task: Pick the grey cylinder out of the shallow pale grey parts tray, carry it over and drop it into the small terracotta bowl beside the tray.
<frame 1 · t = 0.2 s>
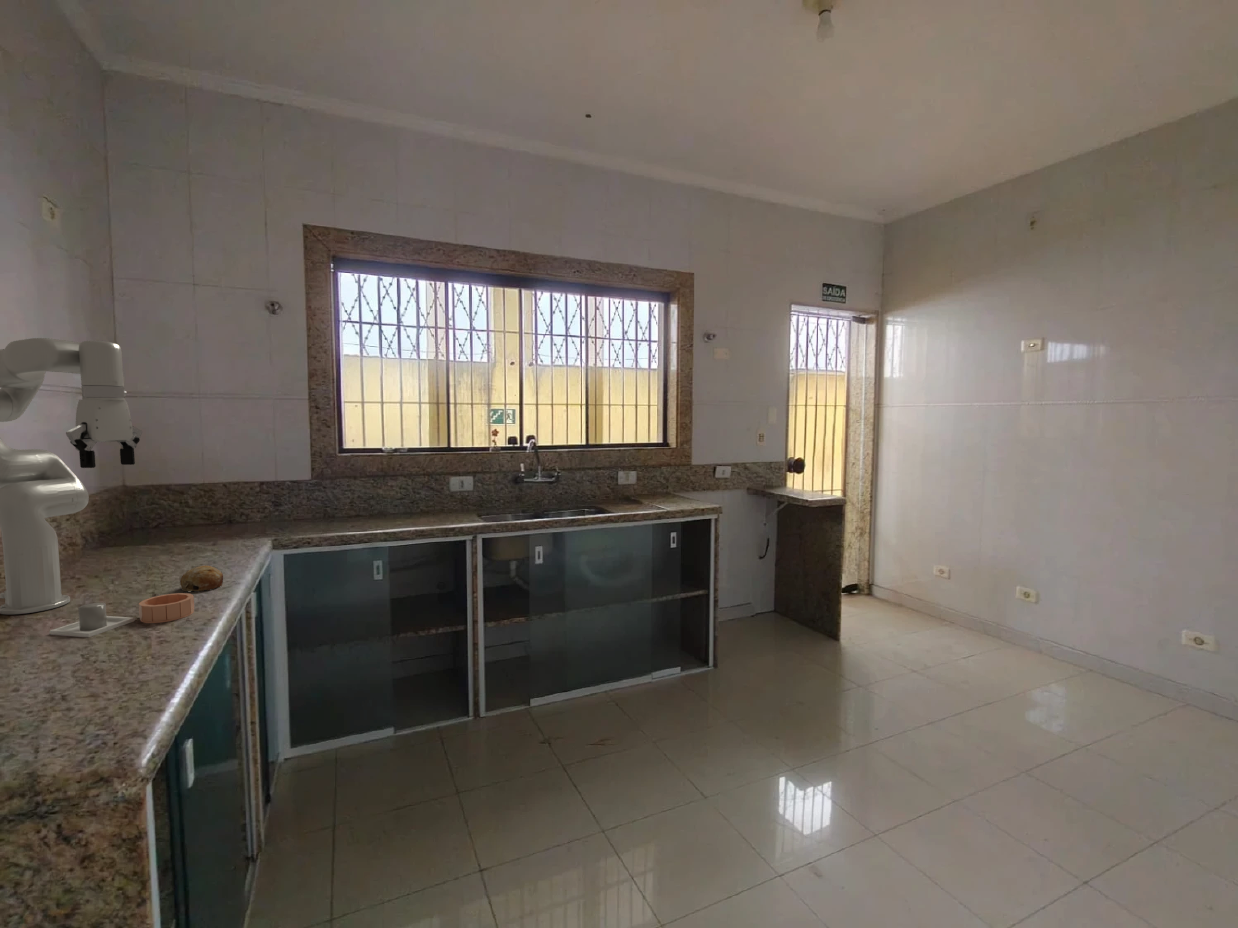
hand: (108, 466, 136), 36 cm above the worktop, tool pointing down, fingers open, 9 cm apart
bread roll: (203, 588, 160), on the worktop
parts tray: (93, 629, 128), on the worktop
bowl: (167, 616, 136), on the worktop
grey cylinder: (93, 627, 128), resting on parts tray
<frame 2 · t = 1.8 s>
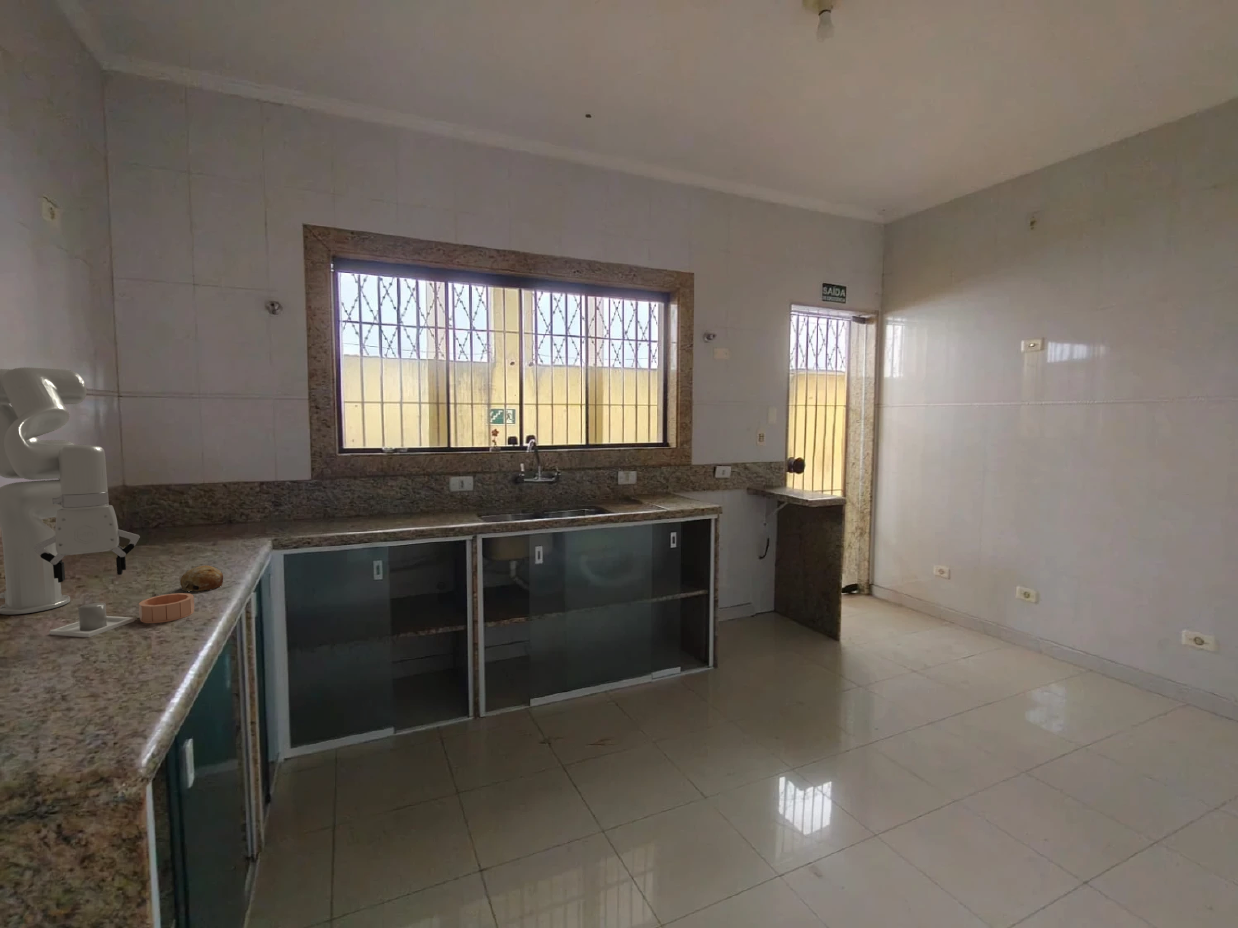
hand: (91, 577, 126), 12 cm above the worktop, tool pointing down, fingers open, 9 cm apart
nothing on the worktop moved.
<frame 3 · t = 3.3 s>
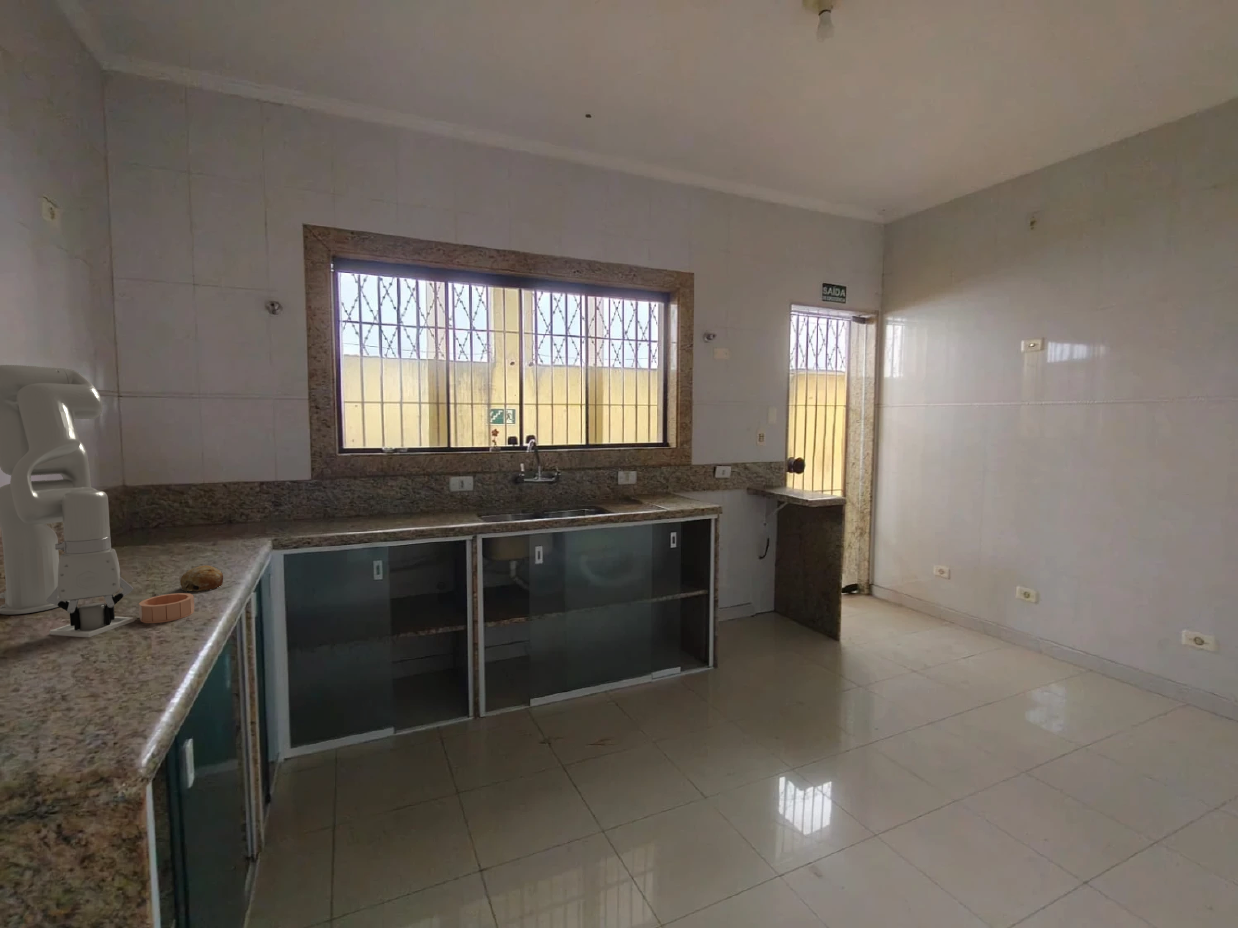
hand: (93, 624, 128), 1 cm above the worktop, tool pointing down, fingers closed on grey cylinder, 4 cm apart
grey cylinder: (93, 627, 128), resting on parts tray, touching gripper
everything else where it was.
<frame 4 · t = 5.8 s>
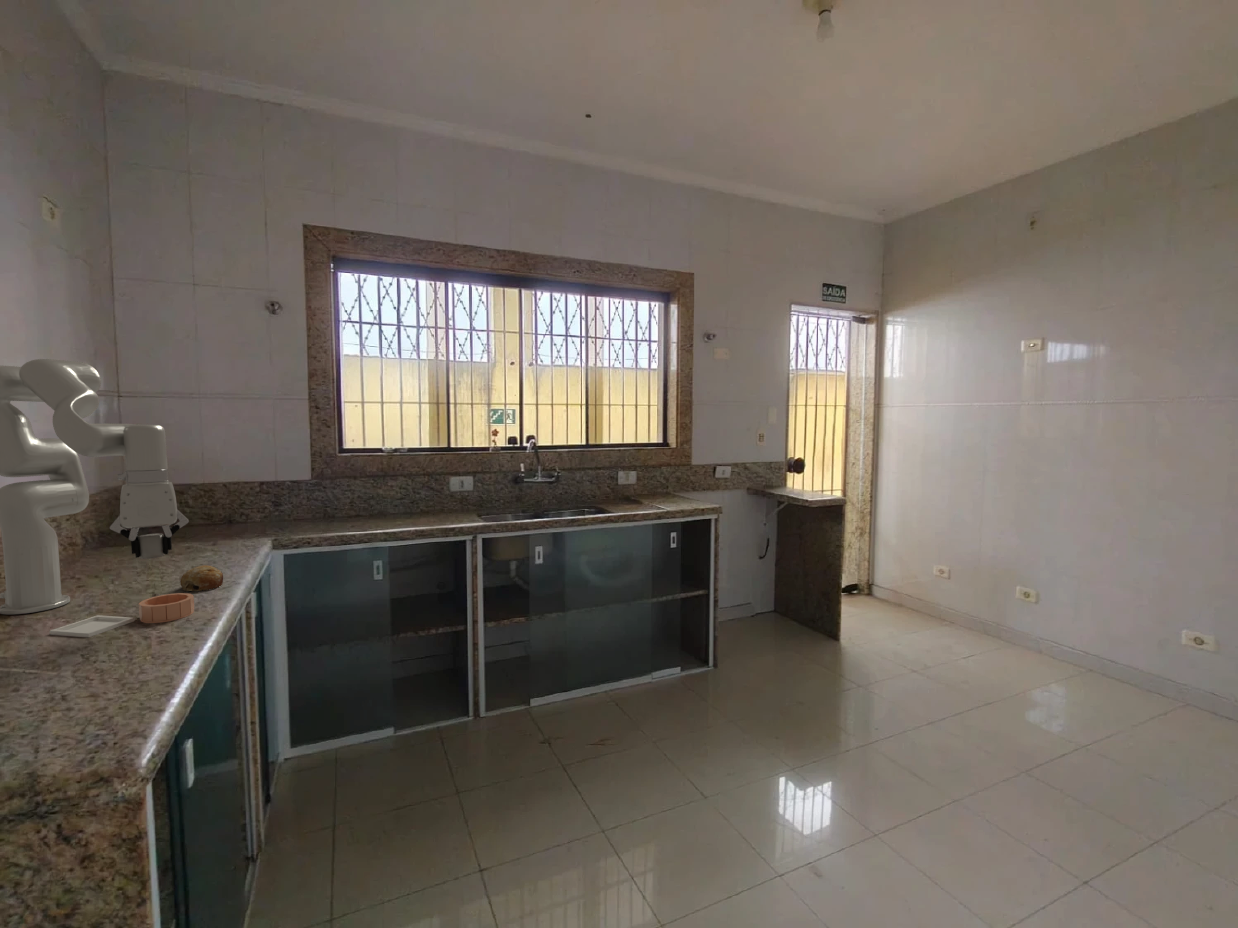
hand: (152, 554, 133), 16 cm above the worktop, tool pointing down, fingers closed on grey cylinder, 4 cm apart
grey cylinder: (152, 556, 133), point 15 cm above the worktop, touching gripper
everything else where it was.
when the fingers open (5 cm above the worktop, at t = 8.6 s): grey cylinder drops 4 cm, resting on bowl.
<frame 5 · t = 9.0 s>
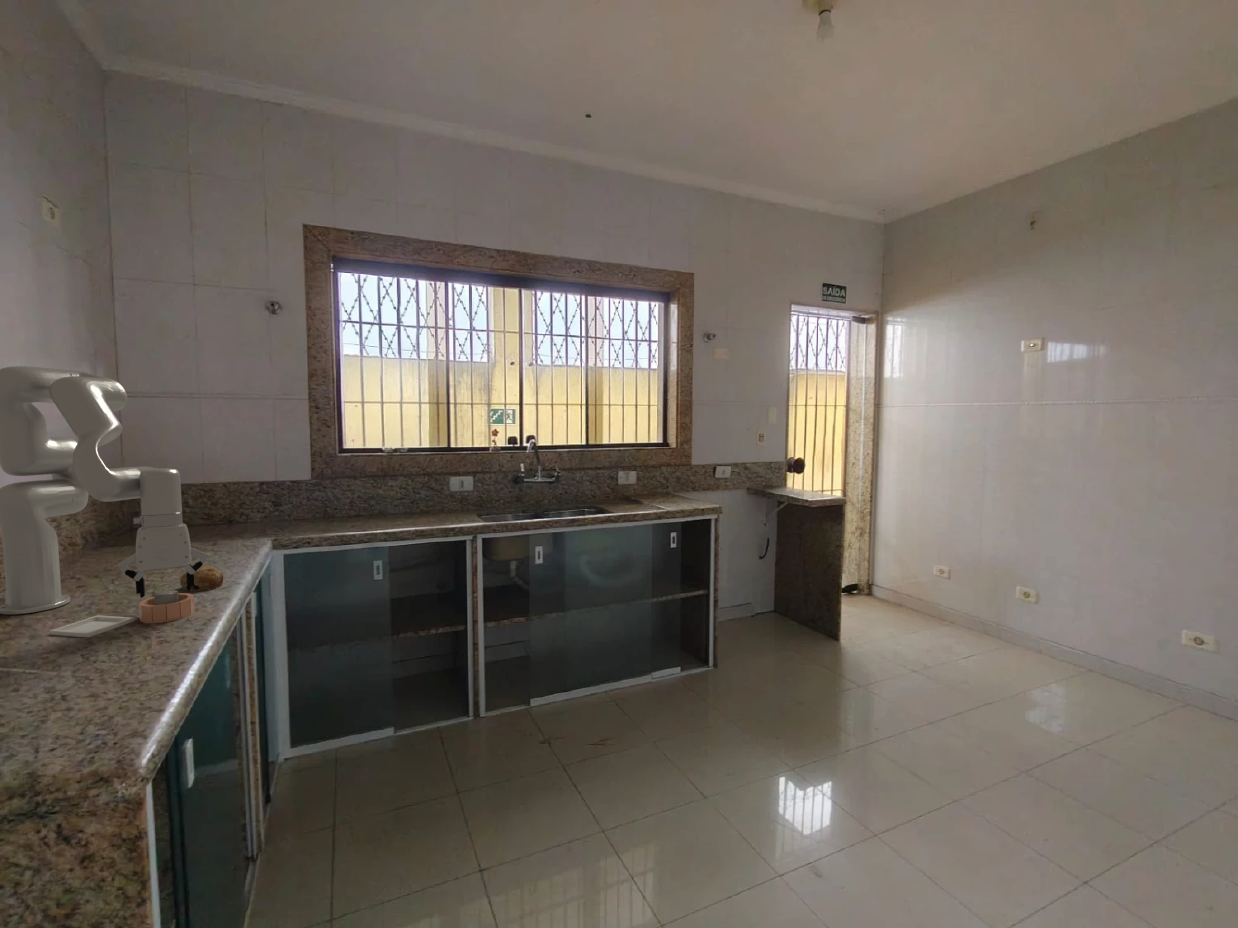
hand: (166, 592, 135), 6 cm above the worktop, tool pointing down, fingers open, 8 cm apart
grey cylinder: (167, 613, 136), point 1 cm above the worktop, touching bowl
everything else where it was.
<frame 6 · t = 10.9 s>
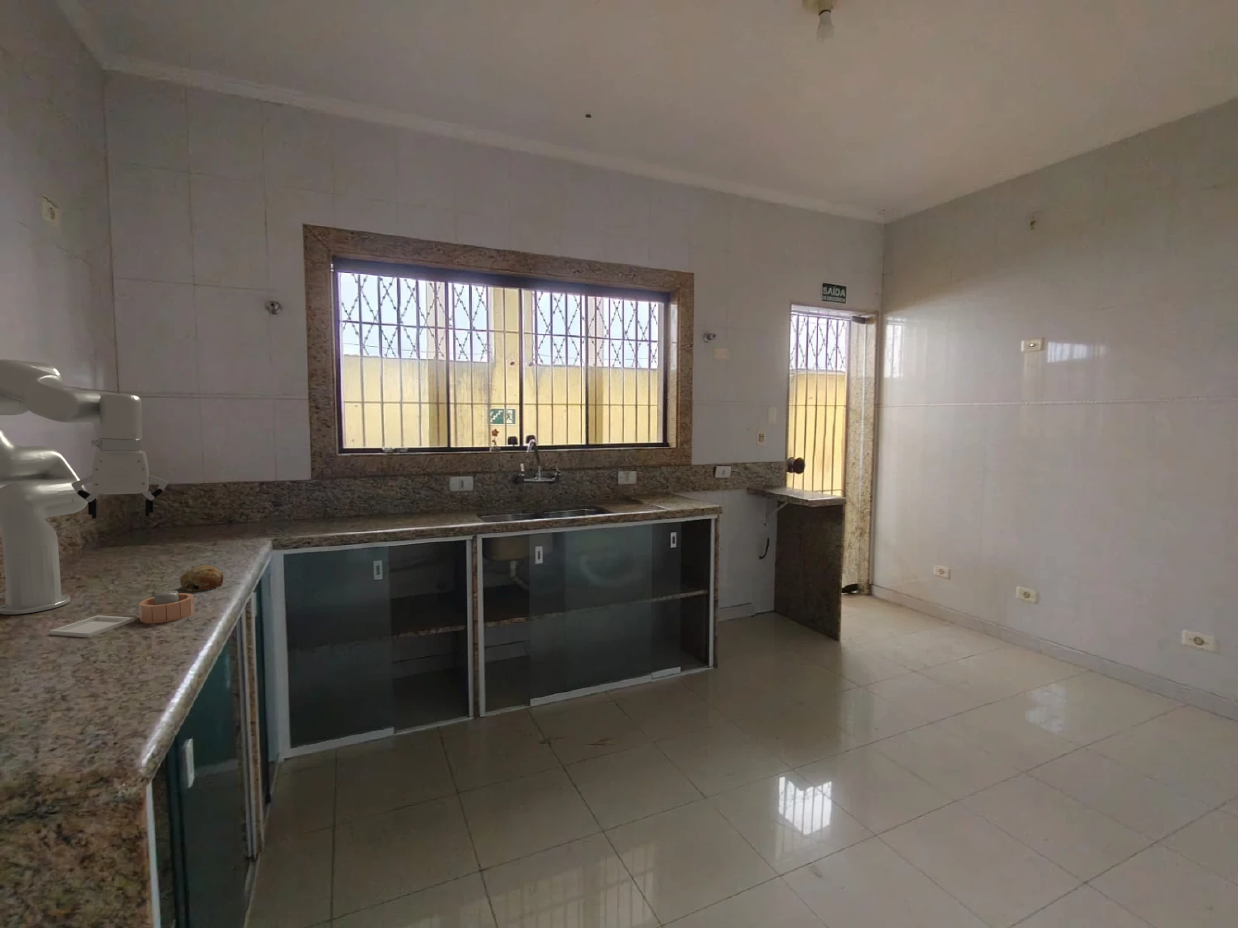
hand: (121, 516, 136), 24 cm above the worktop, tool pointing down, fingers open, 9 cm apart
nothing on the worktop moved.
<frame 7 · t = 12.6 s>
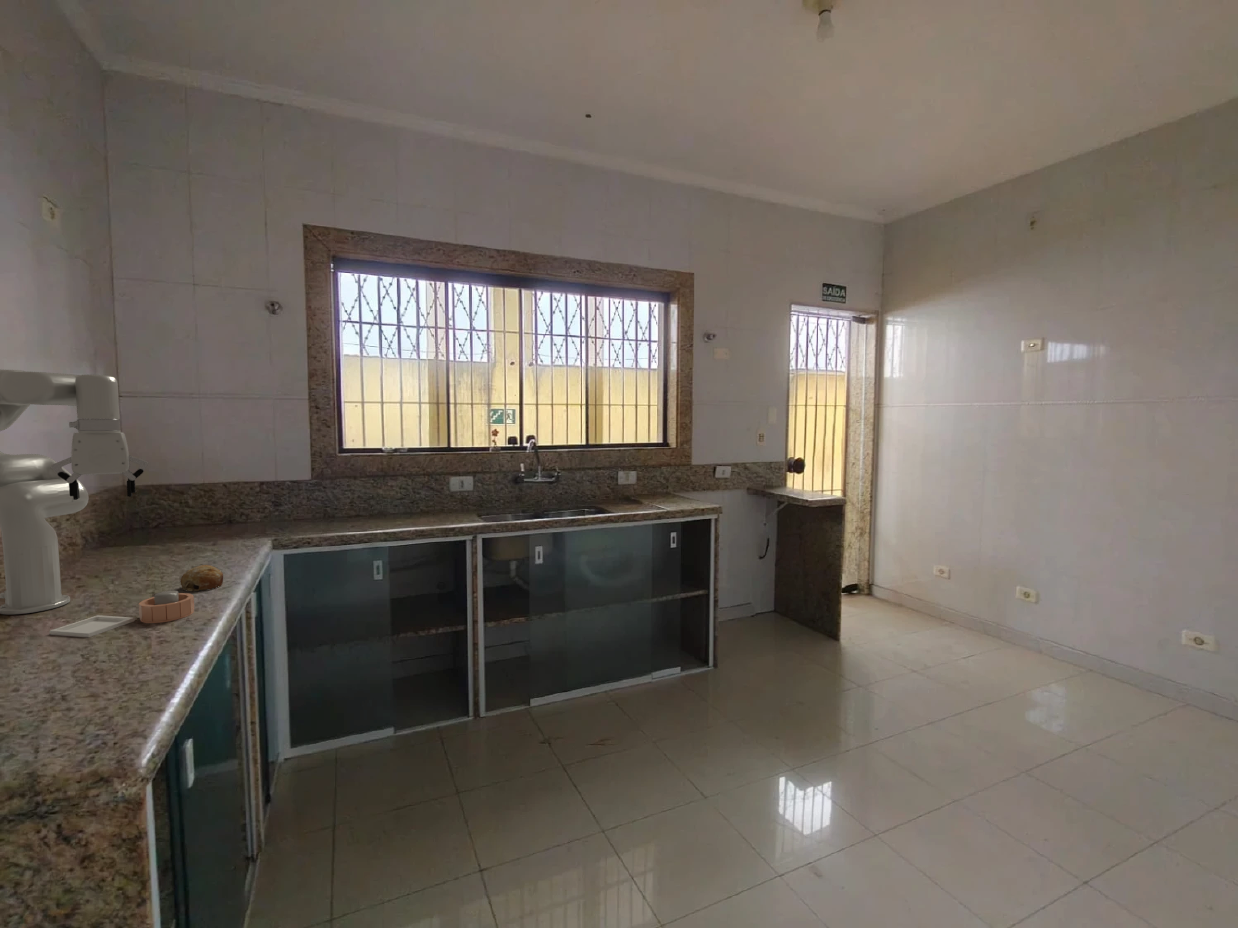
hand: (103, 497, 137), 28 cm above the worktop, tool pointing down, fingers open, 9 cm apart
nothing on the worktop moved.
at the end: grey cylinder inside the target area on the bowl (0.1 cm from its centre), point 0.8 cm above the bowl's base; the gripper is holding nothing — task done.
